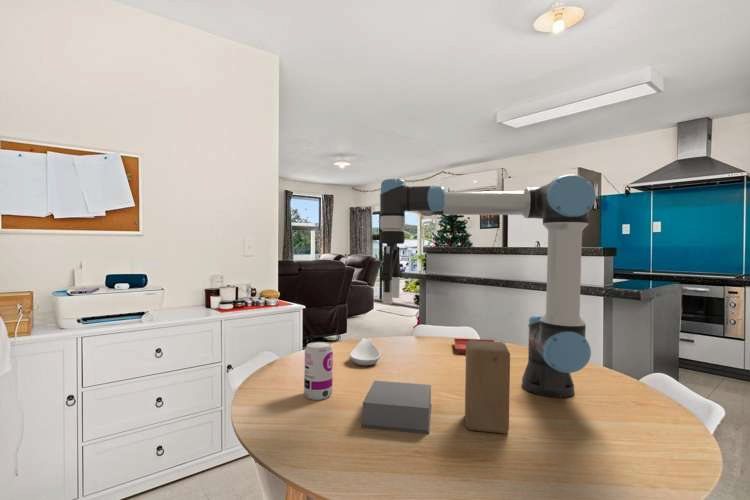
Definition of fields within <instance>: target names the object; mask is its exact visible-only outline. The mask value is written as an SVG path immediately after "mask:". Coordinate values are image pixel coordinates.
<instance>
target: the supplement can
mask: <svg viewBox="0 0 750 500" xmlns="http://www.w3.org/2000/svg"><path fill="white" fill-rule="evenodd" d="M333 360H334V350H333V347H332V344H331V343H330V342H325V341H314V342H313V341H312V342H310V343H307V344H306V347H305V349H304V370H303V371H304V374H303V375H304V378H303V379H304V383H303V384H304V385H303V390H304V392H303V394H304V396H305V397H306V398H307V399H309V400H313V401H320V400H325V399H328V398H330V396H331V395H332V393H333V375H334V374H333V370H334V368H333V365H334V361H333Z"/></svg>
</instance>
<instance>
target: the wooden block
mask: <svg viewBox="0 0 750 500" xmlns="http://www.w3.org/2000/svg"><path fill="white" fill-rule="evenodd" d="M510 374H511V353H510V351H509V349H508V347H507V345H506V344H505V343H504V341H503V342H502V341H495V342H493V341H477V340H469V341H467V343H466V354H465V380H464V381H465V384H464V385H465V386H464V387H465V388H464V389H465V390H464V391H465V393H464V396H465V398H464V415H465V416H464V418H465V428H466V429H467V430H469V431H477V432H478V431H479V432H487V433H497V434H508V432H509V430H510V393H511V392H510V390H511V389H510V388H511V387H510V384H511V382H510V381H511V375H510Z"/></svg>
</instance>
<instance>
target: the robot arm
mask: <svg viewBox="0 0 750 500" xmlns="http://www.w3.org/2000/svg"><path fill="white" fill-rule="evenodd" d="M379 194H380V195H379V198H380V199H379V201H380V202H379V203H380V204H379V209H380V211H379V213H380V215H379V217H380V219H378V220H377V221H378V224H379V228H380V230H381V231H380V232H379V243H380V244H381V245H382V244H384V245H385V244H386V245H385V246H384V247H383V258H382V268H381V275H380V278H379V281H380V282H381V281H382V304H388V305H392V304H393V299H394V298H395V299H400V286H401V285H400V284H401V283H400V278H403V274H402V272H401V260H400V259H401V258H400V249H401V248H400V246H398V245H400V244H401V245H403V244H404V243H405V239H406V238H405V231H404V230H405V229H406V228H405V227H406V215H405V212H419V214H421V215H422V216H425V217H426V216H427V217H431V216H444V215H445V216H453V215H454V216H459V215H460V216H462V215H463V216H467V215H468V216H473V215H474V216H493V215H494V216H502V215H503V216H513V215H514V216H523V218H525V219H539V220H541V219H542V225H543V227H544V228H546V230H547V232H548V233H547V261H546V262H547V264H546V265H547V266H546V295H545V296H546V297H545V298H546V301H545V314H544V315H531V316H530V317H529V319H528V325H527V327H528V350H527V351H528V361H527V363H526V366H525V369H524V372H523V375H522V379H521V386H522V388H523V389H525V390H526V391H527V392H528V391H529V393H530V392H531V393H532V394H533V393H534V394H536V395H540V396H544V397H550V398H566V397H571V396H573V395H574V394H575V384H574V380H573V378H572V374H571V373H577V372H579V371H581V370H583V369H584V368H585V367H586V366H587V365H588V363H590V362H589V361H590V360H591V355H592V351H591V346H590V344H589V341H588V340H587V339H586V324H587V323H586V321H584V319H582V318H581V315H580V314H581V281H582V280H581V279H582V278H581V277H582V249H583V248H582V243H583V239H582V238H583V231H584V229H585V228H586V227H588V225H589V218H590V217H589V215H590V210H591V209H592V208H593V206H594V204H595V201H596V191H595V188H594V186H593V184H592V183H591V182H590V181H589V180H588V179H587V178H586V177H583V176H581V175H578V174H565V175H561V176H558V177H557V178H555V179H552V181H551V182H549V183H548V184H544V185H541V186H536V187H526V188H525V189H523V190H516V191H515V190H514V191H513V190H511V191H506V190H505V191H502V190H501V191H497V190H496V191H493V190H492V191H446V189H445V187H444V186H442V185H440V186H439V185H423V186H422V185H421V186H420V185H417V186H415V185H413V186H409V185H406V182H405V180H404V179H400V178H388V179H384V180H382V181H381V183H380V193H379Z"/></svg>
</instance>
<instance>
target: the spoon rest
mask: <svg viewBox="0 0 750 500" xmlns="http://www.w3.org/2000/svg"><path fill="white" fill-rule="evenodd" d="M381 356H382V355H381V352H380V350H379V349H378V347H377V346H376V345H375V343H374V342H373V341H372V338H365V337H362V338H361V340H360V341H359V342H358V344H357V345H356V346H355V347H354V348H353V349H351V351H350V352H349V357H350V360H351V361H352V362H353V363H355V364H356V365H358V366H362V365H363V367H364V366H365V367H367V366H368V365H369V366H372V365H374V364H376V363H377V362H378V361H379V360H380V358H381Z"/></svg>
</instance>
